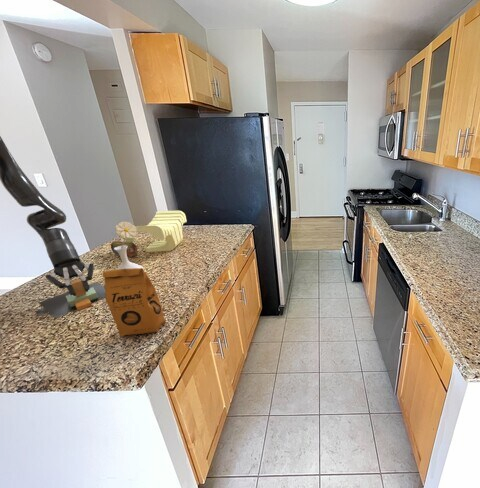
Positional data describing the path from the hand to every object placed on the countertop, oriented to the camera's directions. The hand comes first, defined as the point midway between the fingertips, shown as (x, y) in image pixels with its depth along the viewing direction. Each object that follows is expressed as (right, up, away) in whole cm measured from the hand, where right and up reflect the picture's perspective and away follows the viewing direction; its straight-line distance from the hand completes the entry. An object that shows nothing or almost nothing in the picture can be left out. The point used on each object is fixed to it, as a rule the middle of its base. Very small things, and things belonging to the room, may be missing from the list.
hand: (80, 292), depth 95 cm
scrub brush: (-2, -3, +3) cm, 5 cm away
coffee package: (+30, -10, -9) cm, 33 cm away
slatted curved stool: (-3, +16, +56) cm, 59 cm away
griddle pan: (-6, -4, +6) cm, 9 cm away
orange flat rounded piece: (+1, -5, 0) cm, 5 cm away
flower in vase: (0, +4, +25) cm, 26 cm away
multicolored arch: (-18, +11, +45) cm, 50 cm away
